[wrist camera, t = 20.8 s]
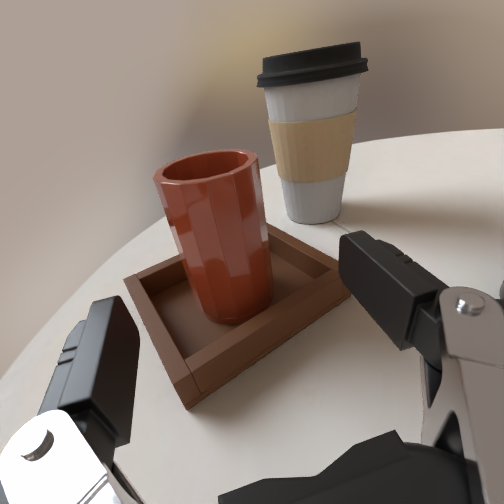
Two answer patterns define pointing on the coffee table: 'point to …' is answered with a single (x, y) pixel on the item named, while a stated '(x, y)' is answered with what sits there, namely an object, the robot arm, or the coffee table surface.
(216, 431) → the coffee table surface
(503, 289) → the supplement bottle
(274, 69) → the coffee cup
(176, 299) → the tray
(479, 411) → the robot arm
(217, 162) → the tumbler
